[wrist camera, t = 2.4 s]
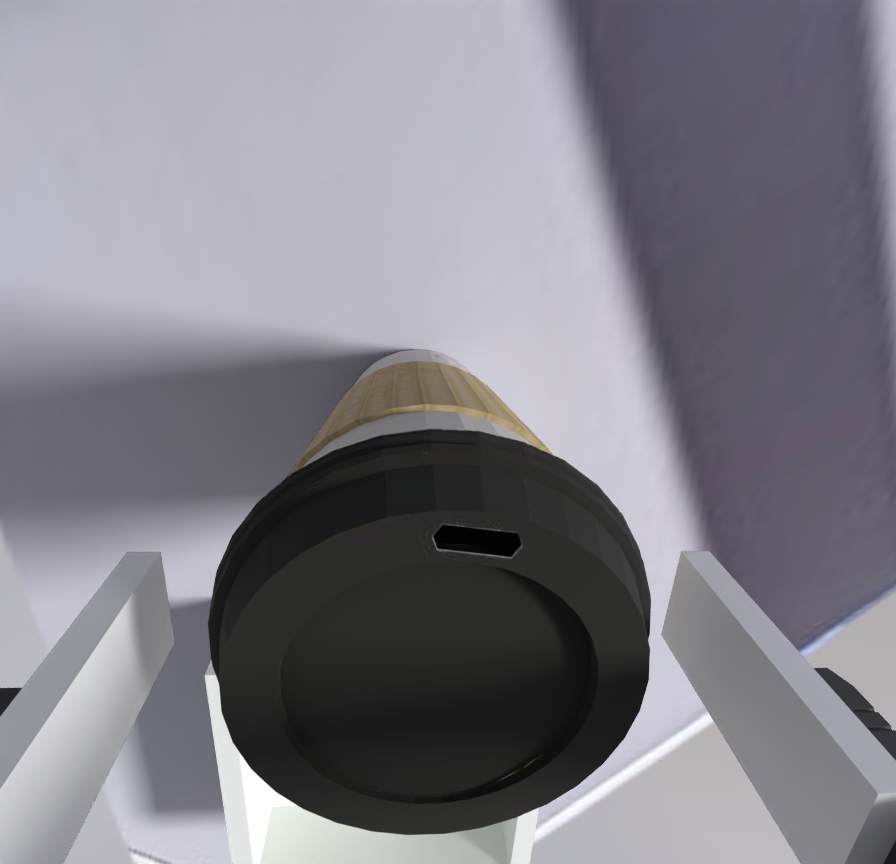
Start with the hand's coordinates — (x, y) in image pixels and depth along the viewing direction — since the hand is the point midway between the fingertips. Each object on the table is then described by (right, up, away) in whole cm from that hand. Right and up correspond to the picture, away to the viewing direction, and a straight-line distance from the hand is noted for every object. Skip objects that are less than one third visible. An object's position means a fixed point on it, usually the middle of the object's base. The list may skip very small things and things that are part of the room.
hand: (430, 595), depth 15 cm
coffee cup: (-1, +5, +11) cm, 12 cm away
